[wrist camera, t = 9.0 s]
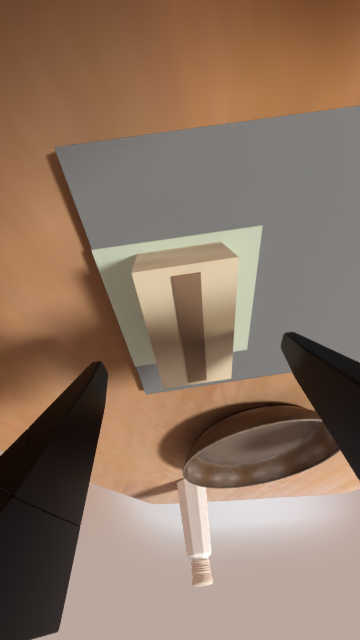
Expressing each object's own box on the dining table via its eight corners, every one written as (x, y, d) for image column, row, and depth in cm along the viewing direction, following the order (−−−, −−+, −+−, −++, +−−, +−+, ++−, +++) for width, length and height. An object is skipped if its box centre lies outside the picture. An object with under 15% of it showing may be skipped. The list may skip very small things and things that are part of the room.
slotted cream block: (219, 349, 15) (231, 379, 12) (162, 358, 15) (163, 390, 12) (220, 241, 10) (239, 257, 8) (137, 253, 10) (130, 273, 8)
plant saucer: (327, 442, 31) (344, 467, 28) (208, 475, 34) (212, 499, 31) (332, 367, 19) (360, 396, 17) (152, 427, 23) (151, 459, 20)
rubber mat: (512, 88, 8) (540, 80, 8) (353, 357, 18) (360, 362, 18) (60, 149, 8) (52, 146, 7) (146, 388, 18) (145, 396, 17)
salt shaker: (210, 475, 33) (229, 581, 24) (200, 486, 36) (214, 584, 27) (180, 476, 32) (189, 587, 23) (173, 487, 35) (178, 590, 26)
